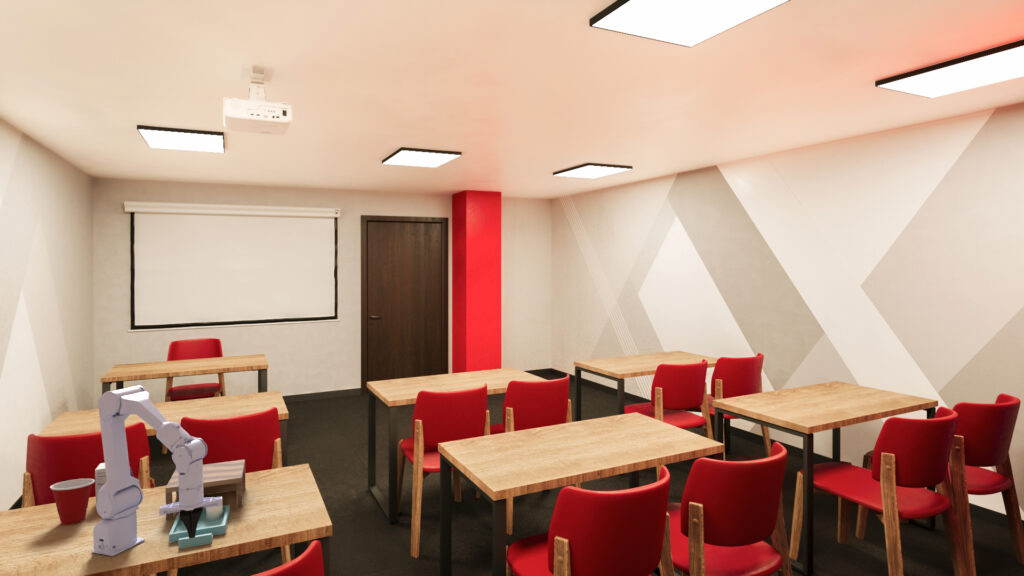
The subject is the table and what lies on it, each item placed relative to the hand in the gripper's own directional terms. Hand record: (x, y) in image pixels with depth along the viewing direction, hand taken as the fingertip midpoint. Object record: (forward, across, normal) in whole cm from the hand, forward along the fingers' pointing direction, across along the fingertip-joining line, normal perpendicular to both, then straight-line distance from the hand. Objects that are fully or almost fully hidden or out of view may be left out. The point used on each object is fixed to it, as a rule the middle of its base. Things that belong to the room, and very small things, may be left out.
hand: (192, 536), depth 148 cm
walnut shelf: (+5, 0, +37) cm, 38 cm away
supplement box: (+5, -30, +52) cm, 60 cm away
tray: (+5, 0, +16) cm, 16 cm away
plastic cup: (+5, -37, +40) cm, 54 cm away
